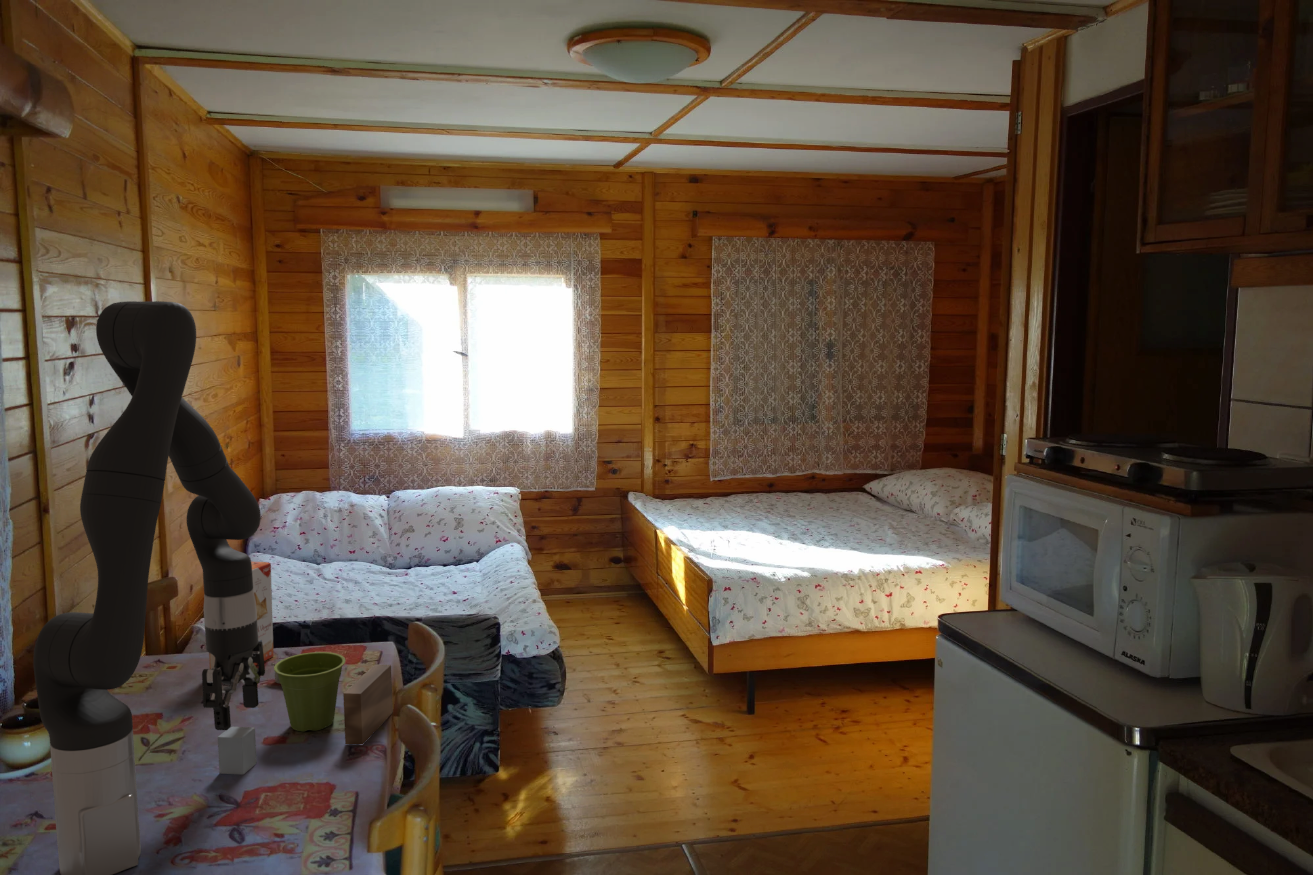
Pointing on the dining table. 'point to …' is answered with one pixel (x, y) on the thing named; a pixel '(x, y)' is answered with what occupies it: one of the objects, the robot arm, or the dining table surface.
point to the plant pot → (310, 688)
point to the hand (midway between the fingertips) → (237, 717)
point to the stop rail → (367, 704)
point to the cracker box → (261, 608)
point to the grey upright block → (237, 750)
